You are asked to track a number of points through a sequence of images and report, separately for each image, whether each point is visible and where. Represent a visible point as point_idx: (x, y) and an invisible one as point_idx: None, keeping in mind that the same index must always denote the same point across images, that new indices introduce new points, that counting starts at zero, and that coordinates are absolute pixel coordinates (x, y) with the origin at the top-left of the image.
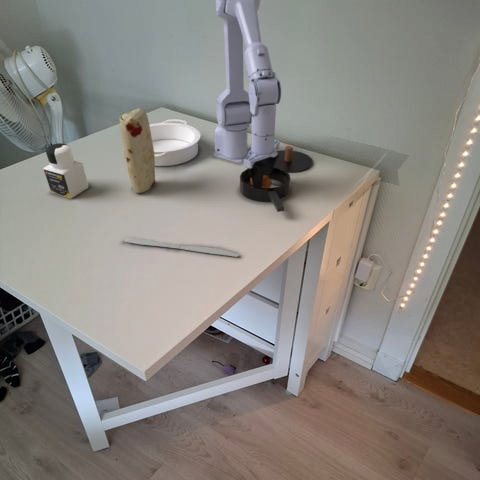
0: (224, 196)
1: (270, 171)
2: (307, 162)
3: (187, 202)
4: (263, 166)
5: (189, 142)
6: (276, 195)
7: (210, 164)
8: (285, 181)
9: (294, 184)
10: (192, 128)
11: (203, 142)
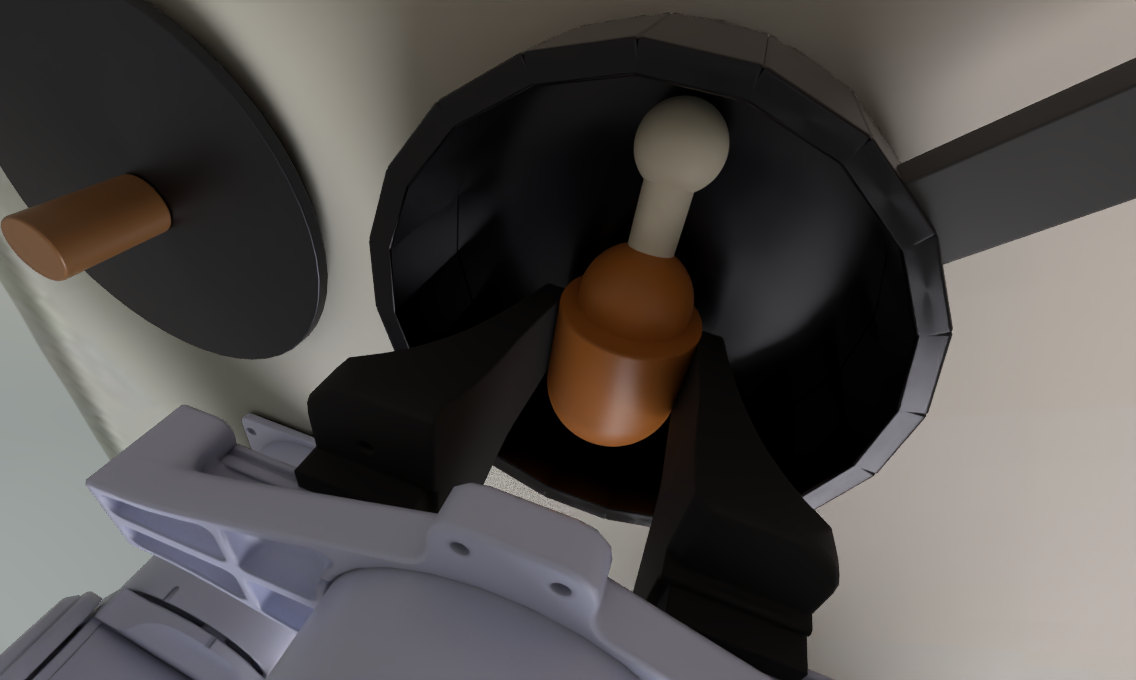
0: (815, 510)
1: (523, 334)
2: (33, 20)
3: (936, 660)
4: (798, 552)
5: None
6: (1120, 116)
7: None
8: (482, 123)
9: (408, 23)
10: None
11: None
